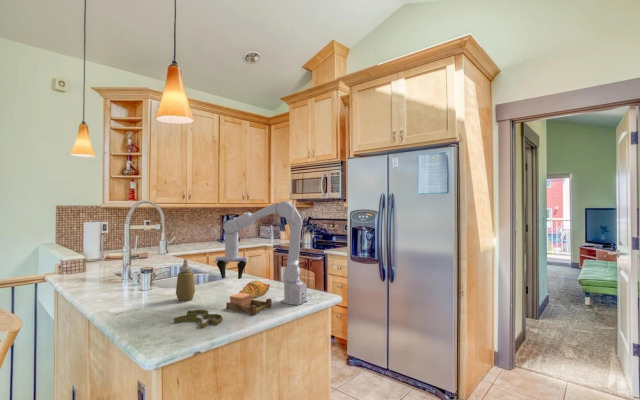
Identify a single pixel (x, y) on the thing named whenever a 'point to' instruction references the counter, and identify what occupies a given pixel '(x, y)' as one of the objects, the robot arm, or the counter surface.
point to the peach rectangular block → (241, 299)
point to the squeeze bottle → (185, 283)
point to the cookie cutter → (193, 317)
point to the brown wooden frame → (253, 308)
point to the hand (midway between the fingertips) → (231, 278)
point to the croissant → (255, 289)
